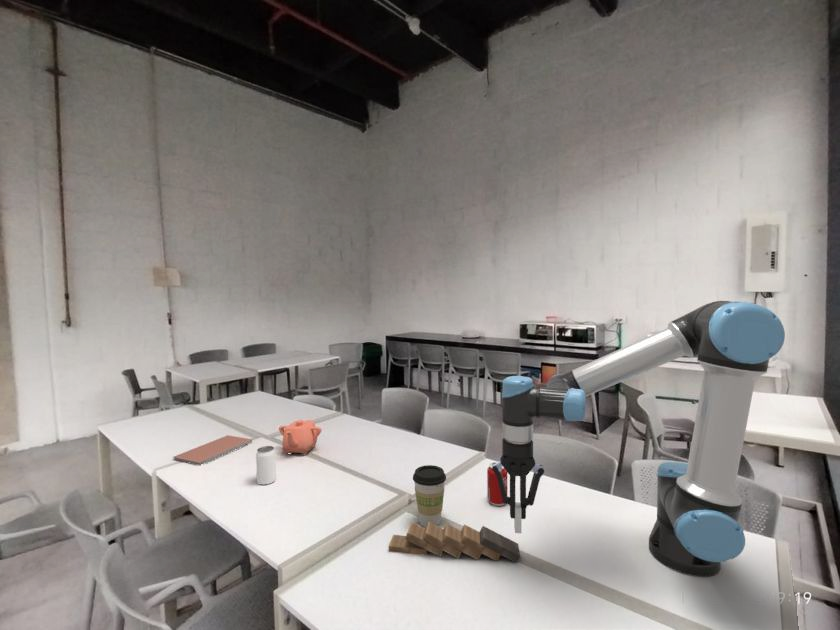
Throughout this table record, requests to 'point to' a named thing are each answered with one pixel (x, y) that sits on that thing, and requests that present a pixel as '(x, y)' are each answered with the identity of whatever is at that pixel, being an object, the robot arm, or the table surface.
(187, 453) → the notebook
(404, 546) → the domino
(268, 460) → the can
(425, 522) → the coffee cup
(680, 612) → the table surface
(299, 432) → the teapot
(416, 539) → the domino
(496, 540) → the head tile
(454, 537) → the domino
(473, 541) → the domino
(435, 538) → the domino
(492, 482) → the beverage can
